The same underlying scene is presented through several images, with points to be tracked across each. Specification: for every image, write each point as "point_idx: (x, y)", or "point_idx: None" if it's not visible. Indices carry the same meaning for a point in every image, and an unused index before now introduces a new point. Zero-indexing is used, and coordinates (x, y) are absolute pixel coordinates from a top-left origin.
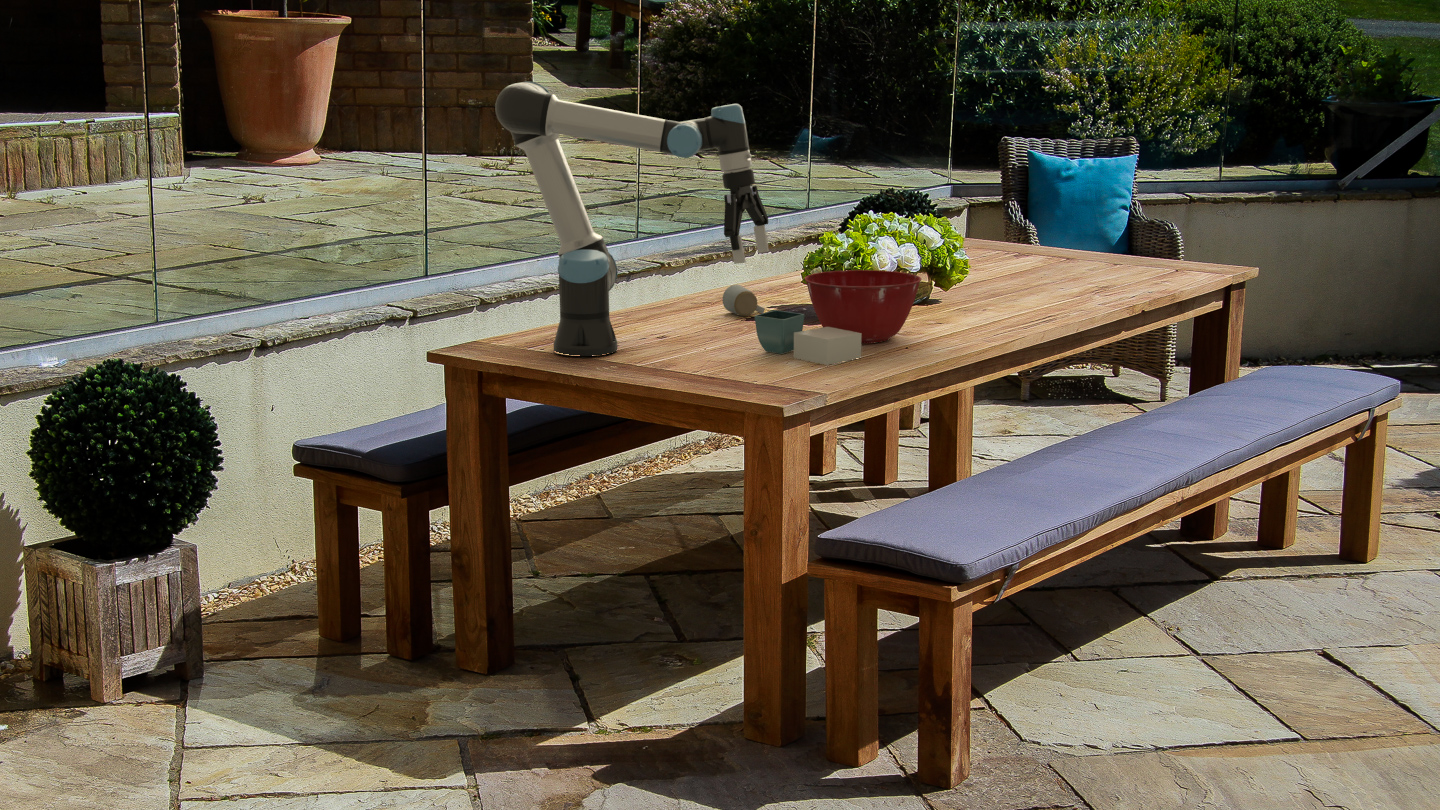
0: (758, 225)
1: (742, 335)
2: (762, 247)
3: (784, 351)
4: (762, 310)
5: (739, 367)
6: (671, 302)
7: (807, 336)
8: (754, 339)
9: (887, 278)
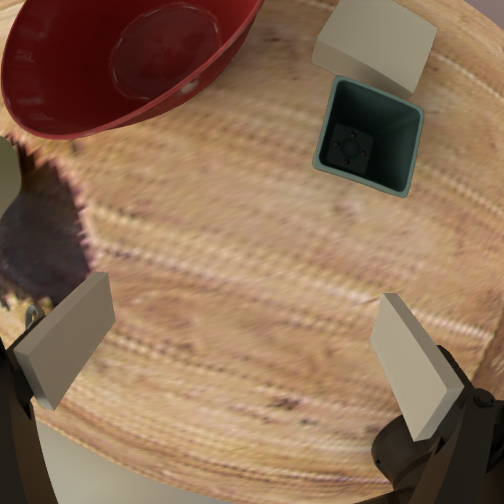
0: (28, 387)
1: (211, 281)
2: (100, 307)
3: (372, 131)
4: (37, 305)
5: (483, 186)
6: (55, 428)
7: (424, 64)
8: (243, 242)
9: (26, 25)
